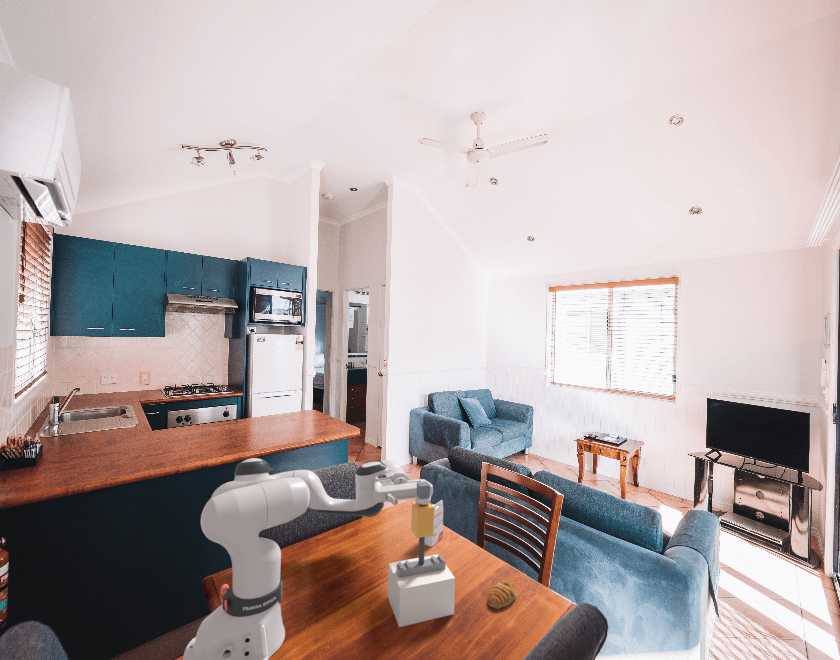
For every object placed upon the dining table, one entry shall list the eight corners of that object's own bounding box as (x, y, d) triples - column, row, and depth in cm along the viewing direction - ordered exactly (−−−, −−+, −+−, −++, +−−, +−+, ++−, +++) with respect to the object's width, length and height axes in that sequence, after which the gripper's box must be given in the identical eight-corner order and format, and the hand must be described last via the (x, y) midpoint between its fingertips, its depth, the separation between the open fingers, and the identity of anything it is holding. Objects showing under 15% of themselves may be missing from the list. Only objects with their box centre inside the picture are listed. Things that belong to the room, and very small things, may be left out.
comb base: (399, 627, 100) (400, 579, 100) (387, 597, 111) (389, 554, 111) (454, 614, 105) (455, 568, 105) (437, 586, 116) (439, 545, 117)
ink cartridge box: (432, 533, 148) (433, 495, 148) (443, 537, 145) (444, 499, 145) (420, 543, 141) (421, 503, 141) (431, 547, 138) (432, 507, 138)
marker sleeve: (416, 538, 105) (417, 509, 105) (411, 529, 110) (411, 501, 110) (433, 535, 107) (434, 507, 107) (427, 526, 112) (427, 499, 112)
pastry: (502, 615, 105) (502, 601, 106) (481, 603, 110) (481, 590, 110) (517, 598, 112) (517, 585, 113) (497, 588, 117) (497, 575, 117)
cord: (416, 576, 105) (418, 487, 106) (411, 567, 110) (413, 481, 110) (430, 573, 107) (433, 486, 107) (425, 564, 111) (427, 480, 111)
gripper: (425, 489, 136) (439, 506, 123) (369, 496, 129) (378, 514, 116) (425, 472, 136) (440, 487, 123) (370, 477, 130) (379, 494, 117)
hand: (409, 500), depth 120 cm, fingers open, 8 cm apart
